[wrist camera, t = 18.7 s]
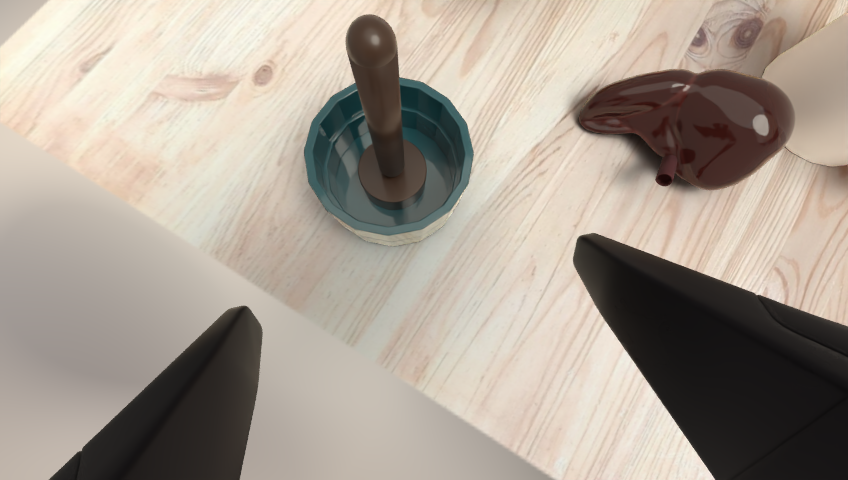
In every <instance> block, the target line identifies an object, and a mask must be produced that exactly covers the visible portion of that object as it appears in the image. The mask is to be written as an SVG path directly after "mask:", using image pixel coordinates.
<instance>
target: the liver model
mask: <svg viewBox="0 0 848 480" xmlns="http://www.w3.org/2000/svg"><path fill="white" fill-rule="evenodd" d="M579 122H580V124H581V125H582V126H583V127H584V128H585V129H587V130H589V131H592V132H595V133H601V134H626V133H635V134H637V135H639V136H640V137H641V138H642V139H643V140H644V141H645V142H646V143H647V144H648V145H649V146H650V148H651V149H652V150H653V151H654V152H655V153H656V154H658V155H659V156H661V157H662V158H663V159H662V162H661V166H660V168H659V170H658V173H657V176H656V182H657V183H658V184H659V185H662V186H668V185H670V184H671V183H672V182H673V179H674V175H675V174H676V175H678V176H679V177H680V178H682V179H683V180H685V181H687V182H688V183H690V184H691V185H693V186H695V187H697V188H700V189H704V190H718V189H723V188H726V187H730V186H733V185H735V184H738V183H740V182H741V181H743V180H745V179H747V178H748V177H750V176H751V175H753V174H754V173H755V172H757V171H758V170H759V169H760V168H761V167H762V166H764V165H765V164H766V163H767V162H768V161H769V160H770V159H771V158H773V157H774V156H775V155H776V154H777V153H778V152H780V151H781V150H782V149H783V148H784V146H785V145H786V144H787V143H788V141H789V139H790V137H791V135H792V133H793V130H794V126H795V111H794V108H793V105H792V103H791V101H790V99H789V97H788V96H787V95H786V93H785V92H784V91H783V90H782V89H780V88H779V87H778V86H776V85H775V84H773V83H772V82H770V81H767V80H765V79H762V78H759V77H755V76H751V75H747V74H743V73H740V72H736V71H731V70H725V69H714V70H708V71H705V72H701V73H694V72H692V71H689V70H684V69H669V70H663V71H657V72H651V73H646V74H641V75H637V76H633V77H629V78H626V79H622V80H619V81H617V82H614V83H611V84H609V85H607V86H605V87H603V88H601V89H600V90H598V91H597V92H595V93H594V94H593V95H592V96H591V97H590V98H589V99H588V100H587V101H586V103H585V104H584V106H583V108H582V110H581V112H580V115H579Z"/></svg>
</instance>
